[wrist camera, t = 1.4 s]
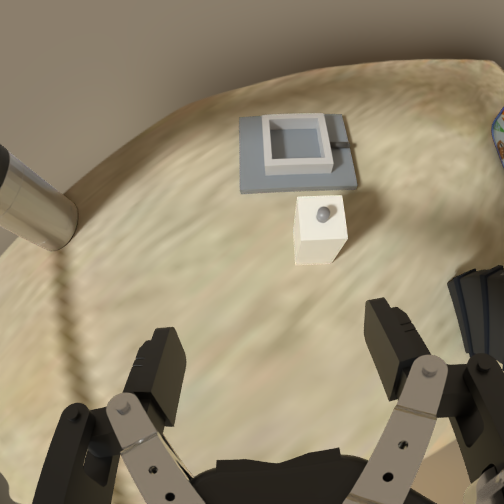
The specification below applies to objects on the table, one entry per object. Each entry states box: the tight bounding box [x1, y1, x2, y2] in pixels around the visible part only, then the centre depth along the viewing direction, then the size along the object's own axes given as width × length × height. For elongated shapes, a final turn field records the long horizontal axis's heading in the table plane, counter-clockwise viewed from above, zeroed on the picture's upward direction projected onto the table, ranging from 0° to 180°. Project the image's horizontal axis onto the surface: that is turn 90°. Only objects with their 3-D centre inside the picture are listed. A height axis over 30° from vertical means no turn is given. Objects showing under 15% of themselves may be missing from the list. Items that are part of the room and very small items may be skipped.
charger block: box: [293, 195, 348, 265], centre depth 33 cm, size 5×5×11 cm
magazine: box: [447, 265, 504, 371], centre depth 29 cm, size 4×13×15 cm, turn 15°
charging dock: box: [239, 113, 357, 194], centre depth 41 cm, size 16×13×4 cm
